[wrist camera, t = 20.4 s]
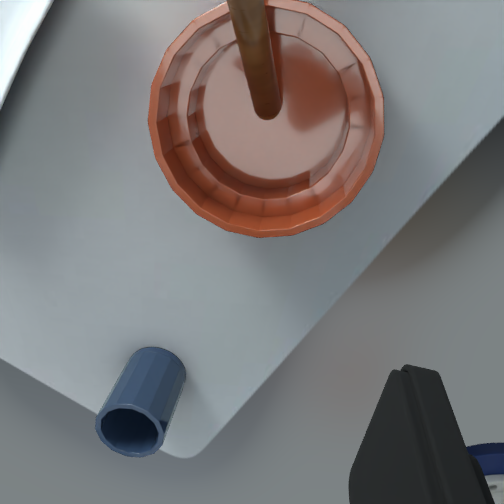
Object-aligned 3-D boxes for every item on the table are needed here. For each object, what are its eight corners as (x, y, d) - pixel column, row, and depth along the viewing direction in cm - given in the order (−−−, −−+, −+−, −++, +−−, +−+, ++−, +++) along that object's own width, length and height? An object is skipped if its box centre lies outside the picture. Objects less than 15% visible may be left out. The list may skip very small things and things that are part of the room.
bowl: (401, 26, 33) (418, 26, 28) (341, 226, 40) (346, 258, 34) (186, -20, 33) (161, -29, 28) (162, 186, 40) (138, 211, 35)
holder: (190, 354, 47) (167, 413, 40) (182, 401, 50) (159, 464, 42) (130, 340, 47) (97, 396, 40) (125, 387, 50) (93, 448, 43)
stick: (285, 105, 36) (248, -133, 21) (278, 127, 35) (235, -103, 21) (260, 102, 36) (206, -133, 22) (252, 123, 36) (192, -104, 21)
